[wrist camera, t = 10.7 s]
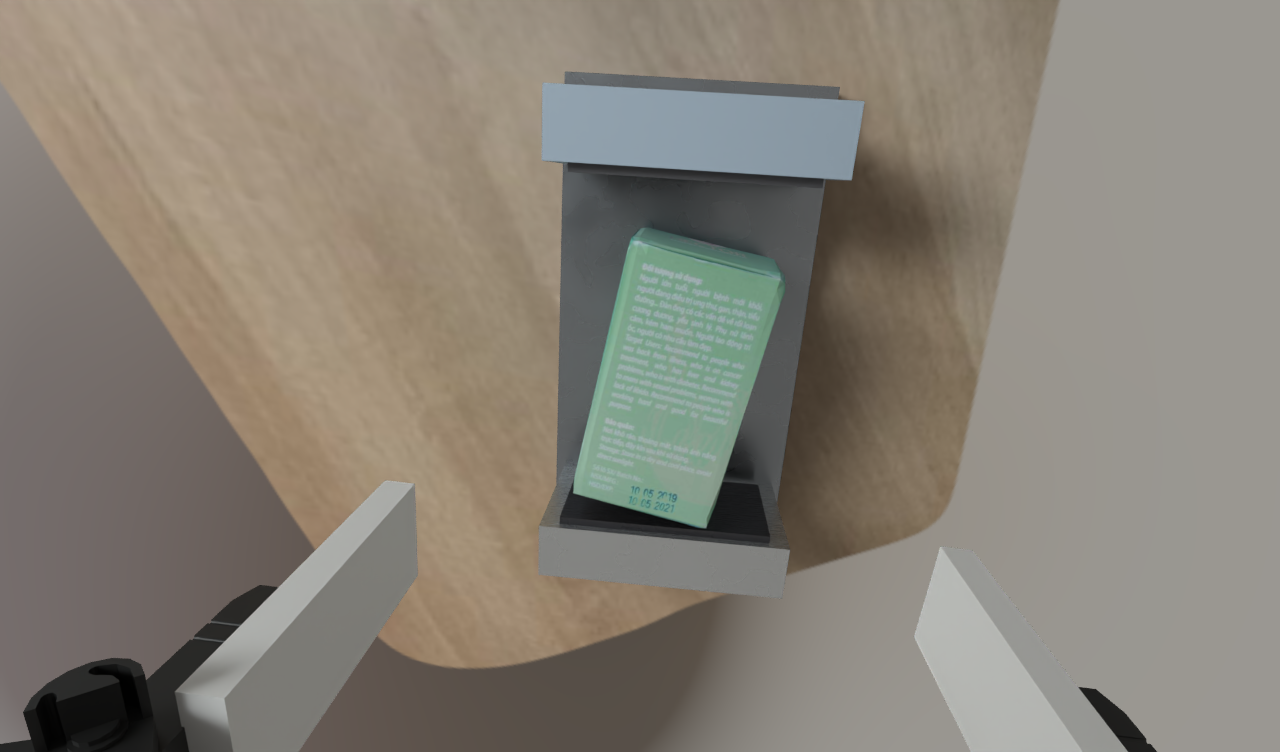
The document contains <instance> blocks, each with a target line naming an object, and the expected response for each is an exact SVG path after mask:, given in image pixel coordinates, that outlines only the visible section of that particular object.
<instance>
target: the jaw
mask: <svg viewBox="0 0 1280 752" xmlns="http://www.w3.org/2000/svg"><path fill="white" fill-rule="evenodd" d="M864 102H865V101H851V100H834V99H817V98H799V97H782V96H765V95H747V94H730V93H713V92H695V91H678V90H661V89H643V88H626V87H609V86H591V85H574V84H556V83H543V90H542V160H543V161H550V162H558V163H565V164H568V172H575V173H590V174H606V175H621V176H636V177H652V178H667V179H683V180H698V181H713V182H729V183H744V184H759V185H775V186H790V187H806V188H822V189H823V183H824V180H852V175H853V169H854V163H855V157H856V150H857V144H858V138H859V132H860V126H861V120H862V114H863V108H864Z"/></svg>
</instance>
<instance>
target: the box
mask: <svg viewBox="0 0 1280 752" xmlns="http://www.w3.org/2000/svg"><path fill="white" fill-rule="evenodd" d="M784 294H785V275H784V274H783V272H782V271H781V270H780V268H779V267H778V265H777V263H776V262H775V260H774V259H772V258H769V257H765V256H761V255H756V254H752V253H748V252H743V251H739V250H735V249H731V248H727V247H724V246H720V245H716V244H712V243H708V242H704V241H700V240H696V239H692V238H688V237H684V236H680V235H676V234H672V233H668V232H664V231H660V230H656V229H652V228H649V227H647V228H641V229H639V230H638V231H637V232H636V233H635V234H634V235H633V236H632V238H631V241H630V244H629V247H628V250H627V254H626V259H625V263H624V267H623V271H622V276H621V280H620V284H619V289H618V293H617V297H616V301H615V306H614V310H613V314H612V319H611V323H610V327H609V331H608V336H607V340H606V344H605V349H604V353H603V357H602V362H601V366H600V370H599V375H598V379H597V383H596V388H595V392H594V396H593V400H592V405H591V409H590V413H589V417H588V421H587V426H586V430H585V434H584V438H583V442H582V447H581V451H580V455H579V459H578V464H577V468H576V473H575V477H574V492H573V493H574V494H578V495H581V496H585V497H589V498H592V499H596V500H600V501H603V502H607V503H611V504H614V505H618V506H622V507H625V508H629V509H633V510H636V511H640V512H644V513H647V514H651V515H655V516H658V517H662V518H666V519H669V520H673V521H677V522H680V523H684V524H687V525H691V526H694V527H698V528H706V527H707V525H708V522H709V520H710V517H711V515H712V512H713V510H714V507H715V504H716V501H717V498H718V495H719V492H720V489H721V485H722V482H723V479H724V476H725V473H726V470H727V466H728V463H729V460H730V457H731V454H732V451H733V448H734V445H735V441H736V438H737V435H738V432H739V429H740V426H741V423H742V420H743V416H744V413H745V410H746V407H747V404H748V401H749V398H750V395H751V392H752V389H753V386H754V383H755V380H756V377H757V374H758V370H759V367H760V364H761V361H762V358H763V355H764V352H765V349H766V346H767V342H768V339H769V336H770V333H771V330H772V327H773V324H774V321H775V318H776V315H777V312H778V309H779V306H780V303H781V301H782V298H783V296H784Z"/></svg>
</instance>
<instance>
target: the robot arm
mask: <svg viewBox="0 0 1280 752" xmlns="http://www.w3.org/2000/svg"><path fill="white" fill-rule="evenodd" d="M417 576H418V567H417V535H416V503H415V484H413V483H404V482H396V481H387V480H385V481H384V482H383V483H382V484H381V485H380V486H379V487H378V488H377V489H376V490H375V491H374V492H373V493H372V494H371V495H370V496H369V497H368V498H367V499H366V500H365V501H364V502H363V503H362V504H361V505H360V506H359V507H358V508H357V509H356V510H355V511H354V512H353V513H352V514H351V515H350V516H349V517H348V518H347V519H346V520H345V521H344V522H343V523H342V524H341V525H340V526H339V527H338V528H337V529H336V530H335V531H334V532H333V533H332V534H331V535H330V536H329V537H328V538H327V539H326V540H325V541H324V542H323V543H322V544H321V545H320V546H319V547H318V548H317V549H316V550H315V551H314V552H313V554H311V556H310V557H308V558H307V559H306V560H305V561H304V563H303V564H301V565H300V567H298V568H297V570H295V571H294V573H292V574H291V575H290V576H289V577H288V579H286V581H284V583H283V584H282V585H281V586H280V587H271V586H263V585H259V586H257V587H255V588H254V589H252V590H250V591H248V592H246V593H245V594H243V595H241V596H239V597H237V598H236V599H234V600H233V601H231V602H230V603H229V604H228V605H227V606H226V607H225V608H224V609H222V610H221V611H220V612H219V613H218V614H217V615H216V616H215V617H214V618H213V619H212V620H211V623H210V624H206V625H205V626H204V627H203V628H202V629H201V630H200V631H199V632H198V633H197V634H196V635H195V636H194V639H193V640H189V641H188V642H187V643H186V644H185V645H184V646H183V647H182V648H181V649H179V650H178V651H177V652H176V653H175V654H174V655H173V656H172V657H171V658H170V659H169V660H168V661H167V662H166V663H165V664H163V665H162V666H161V667H160V668H159V669H158V670H157V671H156V672H155V673H154V674H153V675H151V676H150V678H148V679H147V680H146V679H145V674H144V671H143V669H142V666H141V664H139V663H137V662H135V661H133V660H131V659H122V658H121V659H120V658H110V659H105V660H101V661H96V662H91V663H88V664H85V665H83V666H80V667H78V668H75V669H73V670H70V671H68V672H66V673H64V674H63V675H61V676H59V677H58V678H56V679H54V680H53V681H51V682H49V683H47V684H46V685H45V686H44V687H43V688H42V689H41V690H40V691H38V692H37V693H36V694H35V695H34V696H33V697H32V698H31V700H30V701H29V703H28V705H27V707H26V708H25V710H24V712H23V713H24V717H25V720H26V724H27V727H28V730H29V733H30V737H31V740H26V741H19V742H11V743H4V744H0V752H299V750H300V749H301V747H302V746H303V744H304V743H305V741H306V740H307V738H308V737H309V735H310V734H311V732H312V731H313V729H314V728H315V726H316V725H317V723H318V722H319V720H320V719H321V718H322V716H323V715H324V713H325V712H326V710H327V709H328V707H329V706H330V704H331V702H332V701H333V700H334V698H335V697H336V695H337V694H338V692H339V691H340V689H341V688H342V687H343V685H344V684H345V682H346V681H347V679H348V678H349V676H350V675H351V673H352V672H353V670H354V669H355V667H356V666H357V664H358V663H359V661H360V660H361V658H362V657H363V655H364V654H365V652H366V651H367V650H368V648H369V646H370V645H371V644H372V642H373V641H374V639H375V638H376V636H377V635H378V633H379V632H380V630H381V629H382V627H383V626H384V624H385V623H386V621H387V620H388V618H389V617H390V616H391V614H392V613H393V611H394V610H395V608H396V607H397V605H398V604H399V602H400V601H401V599H402V598H403V596H404V595H405V593H406V592H407V590H408V589H409V587H410V586H411V584H412V583H413V582H414V580H415V579H416V577H417ZM914 638H915V640H916V642H917V644H918V646H919V648H920V650H921V652H922V654H923V656H924V658H925V660H926V662H927V664H928V666H929V668H930V671H931V673H932V675H933V677H934V679H935V681H936V683H937V685H938V686H939V688H940V690H941V693H942V695H943V697H944V699H945V701H946V702H947V705H948V707H949V709H950V711H951V713H952V715H953V717H954V719H955V721H956V723H957V725H958V727H959V729H960V731H961V733H962V735H963V737H964V739H965V741H966V743H967V745H968V747H969V749H970V751H971V752H1157V751H1156V750H1155V749H1154V748H1153V747H1152V745H1151V744H1147V742H1146V738H1145V737H1144V736H1143V734H1142V733H1141V732H1140V731H1139V729H1138V728H1137V727H1136V726H1135V725H1134V723H1133V722H1132V721H1131V720H1130V719H1129V717H1128V716H1127V715H1126V714H1125V713H1124V712H1123V711H1122V710H1121V709H1119V708H1118V707H1117V706H1116V705H1115V704H1113V703H1112V702H1111V701H1110V700H1108V699H1107V698H1106V697H1105V696H1103V695H1102V694H1101V693H1100V692H1099V691H1097V690H1096V689H1090V688H1082V687H1078V686H1077V685H1076V684H1075V683H1074V681H1073V680H1072V679H1071V677H1070V676H1069V675H1068V673H1067V672H1066V671H1065V670H1064V668H1063V667H1062V666H1061V664H1060V663H1059V662H1058V660H1057V659H1056V658H1055V657H1054V655H1053V654H1052V653H1051V651H1050V650H1049V649H1048V648H1047V646H1046V645H1045V644H1044V642H1043V641H1042V640H1041V639H1040V637H1039V636H1038V635H1037V633H1036V632H1035V631H1034V629H1033V628H1032V627H1031V626H1030V624H1029V623H1028V622H1027V620H1026V619H1025V618H1024V616H1023V615H1022V614H1021V613H1020V611H1019V610H1018V609H1017V607H1016V606H1015V605H1014V603H1013V602H1012V601H1011V600H1010V598H1009V597H1008V596H1007V594H1006V593H1005V592H1004V591H1003V589H1002V588H1001V587H1000V585H999V584H998V583H997V581H996V580H995V579H994V578H993V576H992V575H991V574H990V572H989V571H988V570H987V568H986V567H985V566H984V565H983V563H982V562H981V561H980V559H979V558H978V557H977V555H976V554H975V553H974V552H973V550H969V549H961V548H952V547H944V546H940V549H939V553H938V556H937V560H936V563H935V566H934V570H933V573H932V577H931V580H930V584H929V587H928V591H927V594H926V597H925V601H924V604H923V608H922V611H921V614H920V618H919V621H918V625H917V628H916V632H915V635H914Z"/></svg>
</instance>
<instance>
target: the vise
mask: <svg viewBox="0 0 1280 752" xmlns="http://www.w3.org/2000/svg"><path fill="white" fill-rule="evenodd" d="M565 84H574V85H591V86H609V87H626V88H643V89H661V90H678V91H695V92H713V93H730V94H747V95H765V96H782V97H799V98H817V99H834V100H838V95H839V89H840V87H829V86H812V85H794V84H776V83H759V82H741V81H723V80H706V79H688V78H670V77H652V76H635V75H617V74H599V73H582V72H565ZM825 182H826V180H824V183H823V189H822V188H806V187H790V186H775V185H759V184H744V183H729V182H713V181H698V180H683V179H667V178H652V177H636V176H621V175H606V174H590V173H575V172H568V164H565V163H563V190H562V239H561V288H560V337H559V386H558V435H557V484H556V487H555V490H554V492H553V494H552V497H551V499H550V501H549V504H548V506H547V509H546V511H545V513H544V516H543V518H542V520H541V523H540V525H539V575H548V576H558V577H568V578H578V579H588V580H598V581H608V582H619V583H629V584H639V585H649V586H659V587H669V588H679V589H689V590H699V591H710V592H720V593H730V594H740V595H751V596H760V597H771V598H782V596H783V590H784V584H785V578H786V572H787V566H788V560H789V554H790V548H789V544H788V541H787V537H786V533H785V530H784V526H783V523H782V519H781V516H780V512H779V509H778V505H777V500H778V493H779V487H780V480H781V473H782V467H783V460H784V454H785V447H786V440H787V434H788V427H789V420H790V414H791V407H792V401H793V394H794V387H795V381H796V374H797V367H798V361H799V354H800V347H801V341H802V334H803V328H804V321H805V314H806V308H807V301H808V294H809V288H810V281H811V274H812V268H813V261H814V255H815V248H816V241H817V235H818V228H819V221H820V215H821V208H822V202H823V195H824V188H825ZM647 227H649V228H652V229H656V230H660V231H664V232H668V233H672V234H676V235H680V236H684V237H688V238H692V239H696V240H700V241H704V242H708V243H712V244H716V245H720V246H724V247H727V248H731V249H735V250H739V251H743V252H748V253H752V254H756V255H761V256H765V257H769V258H772V259H774V260H775V262H776V263H777V265H778V267H779V268H780V270H781V271H782V272H783V274H784V275H785V294H784V296H783V298H782V301H781V303H780V306H779V309H778V312H777V315H776V318H775V321H774V324H773V327H772V330H771V333H770V336H769V339H768V342H767V346H766V349H765V352H764V355H763V358H762V361H761V364H760V367H759V370H758V374H757V377H756V380H755V383H754V386H753V389H752V392H751V395H750V398H749V401H748V404H747V407H746V410H745V413H744V416H743V420H742V423H741V426H740V429H739V432H738V435H737V438H736V441H735V445H734V448H733V451H732V454H731V457H730V460H729V463H728V466H727V470H726V473H725V476H724V479H723V482H722V485H721V489H720V492H719V495H718V498H717V501H716V504H715V507H714V510H713V512H712V515H711V517H710V520H709V522H708V525H707V527H706V528H698V527H694V526H691V525H687V524H684V523H680V522H677V521H673V520H669V519H666V518H662V517H658V516H655V515H651V514H647V513H644V512H640V511H636V510H633V509H629V508H625V507H622V506H618V505H614V504H611V503H607V502H603V501H600V500H596V499H592V498H589V497H585V496H581V495H578V494H574V493H573V492H574V477H575V473H576V468H577V464H578V459H579V455H580V451H581V447H582V442H583V438H584V434H585V430H586V426H587V421H588V417H589V413H590V409H591V405H592V400H593V396H594V392H595V388H596V383H597V379H598V375H599V370H600V366H601V362H602V357H603V353H604V349H605V344H606V340H607V336H608V331H609V327H610V323H611V319H612V314H613V310H614V306H615V301H616V297H617V293H618V289H619V284H620V280H621V276H622V271H623V267H624V263H625V259H626V254H627V250H628V247H629V244H630V241H631V238H632V236H633V235H634V234H635V233H636V232H637V231H638V230H639V229H641V228H647Z"/></svg>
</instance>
